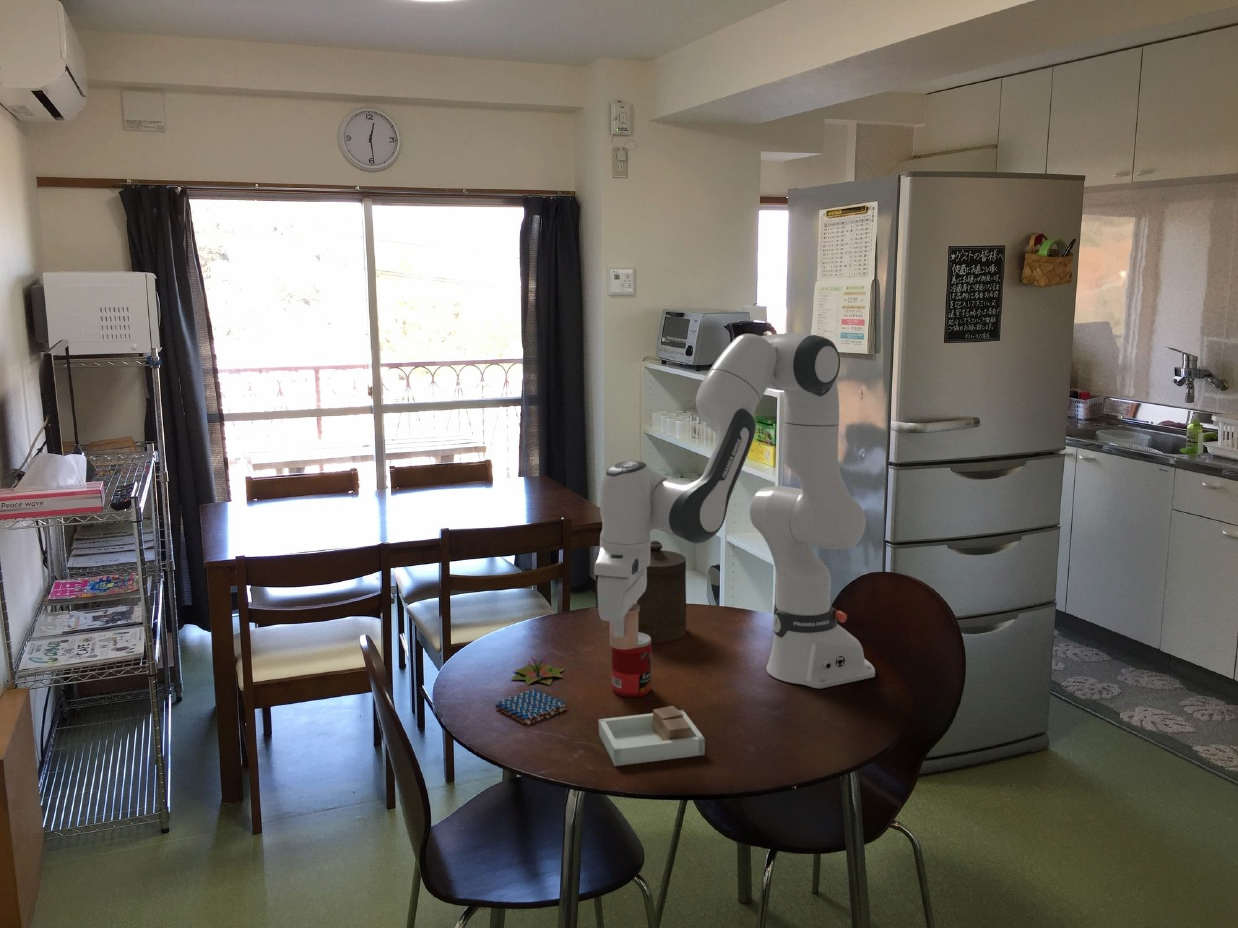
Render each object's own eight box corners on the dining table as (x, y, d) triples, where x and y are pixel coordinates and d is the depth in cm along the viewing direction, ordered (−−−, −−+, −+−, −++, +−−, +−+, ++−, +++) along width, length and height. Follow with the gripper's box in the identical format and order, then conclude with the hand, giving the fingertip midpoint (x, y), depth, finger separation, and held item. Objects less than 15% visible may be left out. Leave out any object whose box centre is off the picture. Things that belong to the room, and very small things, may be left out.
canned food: (647, 699, 190) (647, 645, 188) (607, 695, 191) (607, 643, 189) (654, 683, 197) (654, 632, 195) (615, 680, 199) (615, 629, 197)
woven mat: (570, 711, 185) (570, 701, 185) (526, 728, 178) (526, 718, 178) (535, 695, 193) (535, 686, 192) (492, 711, 185) (492, 701, 185)
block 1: (672, 726, 176) (672, 705, 176) (682, 735, 173) (683, 714, 172) (652, 730, 175) (653, 709, 174) (662, 739, 171) (663, 718, 170)
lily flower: (499, 684, 198) (499, 663, 197) (523, 663, 209) (522, 643, 208) (554, 691, 194) (554, 670, 193) (575, 670, 205) (574, 649, 205)
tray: (682, 724, 178) (683, 709, 178) (704, 754, 167) (704, 738, 166) (598, 734, 174) (598, 719, 174) (614, 765, 163) (614, 749, 162)
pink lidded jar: (613, 637, 175) (613, 600, 173) (642, 640, 173) (642, 603, 172) (605, 647, 169) (605, 609, 168) (634, 651, 168) (635, 612, 167)
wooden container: (656, 617, 237) (657, 530, 234) (698, 633, 226) (700, 542, 222) (610, 630, 228) (609, 540, 224) (651, 648, 217) (652, 553, 213)
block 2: (683, 738, 171) (683, 717, 171) (690, 748, 168) (691, 727, 167) (662, 741, 170) (662, 720, 170) (668, 751, 167) (668, 729, 166)
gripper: (622, 539, 179) (621, 610, 181) (591, 567, 160) (590, 647, 162) (655, 541, 178) (654, 613, 180) (628, 570, 158) (627, 651, 160)
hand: (624, 630), depth 171 cm, fingers closed on pink lidded jar, 5 cm apart
